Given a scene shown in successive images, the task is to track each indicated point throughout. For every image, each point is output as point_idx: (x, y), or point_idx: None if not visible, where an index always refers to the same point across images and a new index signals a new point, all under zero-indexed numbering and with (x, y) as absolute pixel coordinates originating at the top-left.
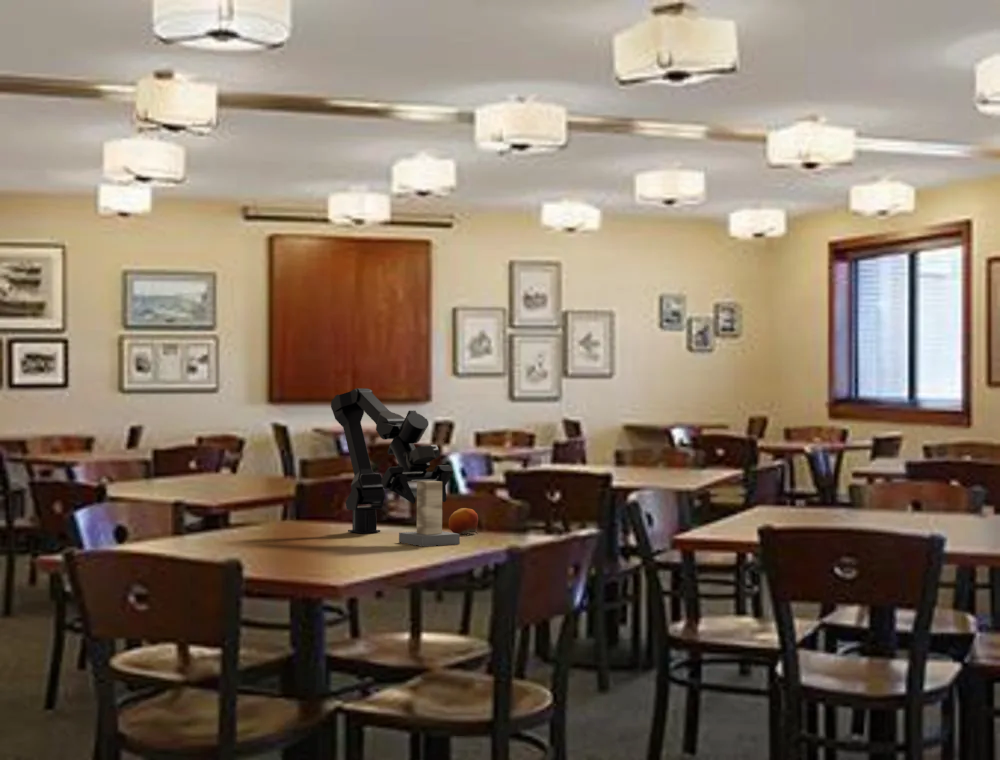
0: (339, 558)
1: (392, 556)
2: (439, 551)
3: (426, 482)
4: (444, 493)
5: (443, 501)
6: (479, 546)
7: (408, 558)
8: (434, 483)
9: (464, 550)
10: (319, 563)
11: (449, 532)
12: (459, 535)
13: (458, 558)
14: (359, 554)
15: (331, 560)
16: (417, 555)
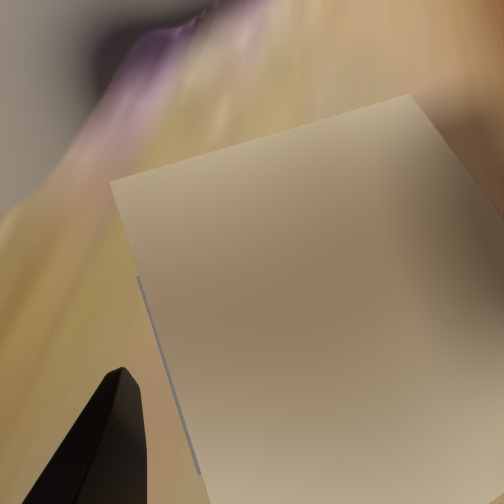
0: (478, 63)
1: (373, 66)
2: (256, 121)
3: (412, 102)
4: (87, 432)
5: (139, 391)
6: (106, 206)
7: (341, 34)
8: (276, 148)
9: (185, 126)
10: (498, 16)
11: (160, 347)
12: (139, 277)
13: (238, 12)
14: (448, 109)
15: (487, 42)
16: (318, 68)
